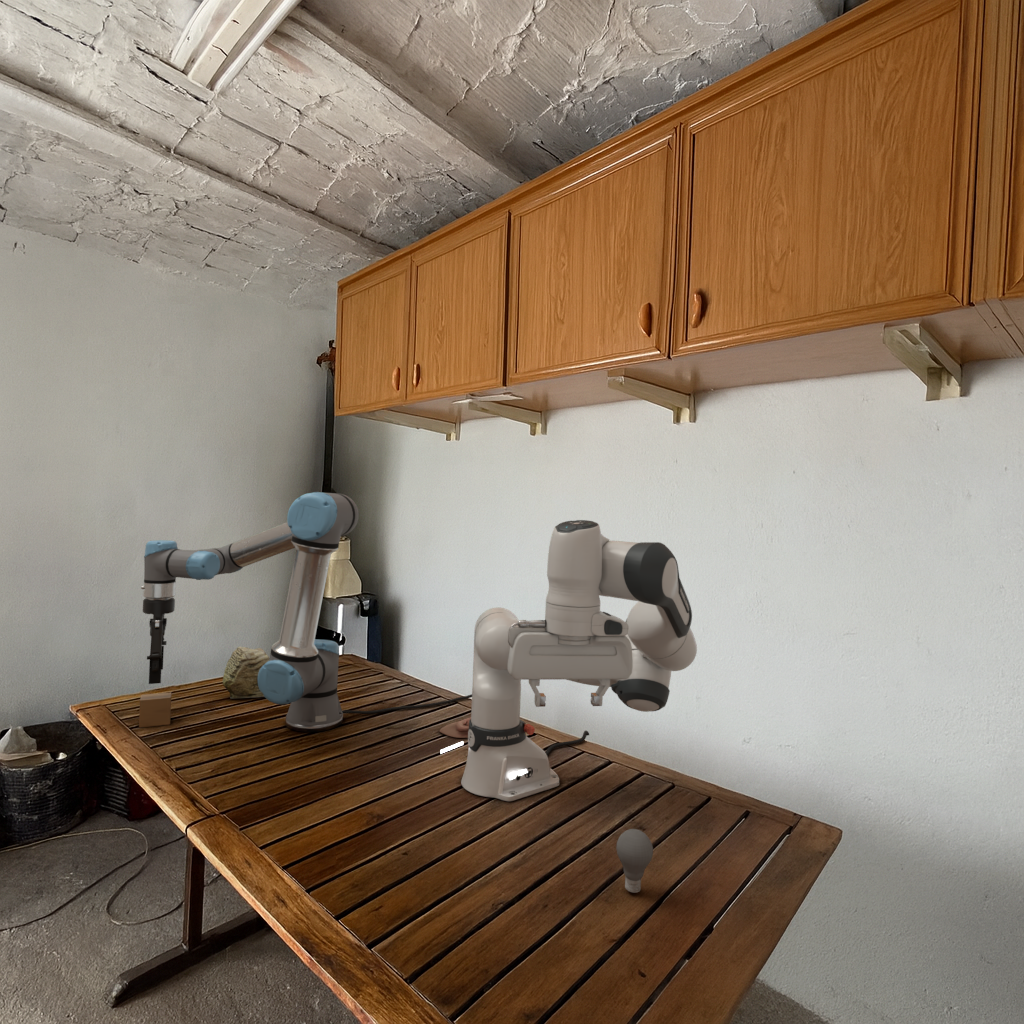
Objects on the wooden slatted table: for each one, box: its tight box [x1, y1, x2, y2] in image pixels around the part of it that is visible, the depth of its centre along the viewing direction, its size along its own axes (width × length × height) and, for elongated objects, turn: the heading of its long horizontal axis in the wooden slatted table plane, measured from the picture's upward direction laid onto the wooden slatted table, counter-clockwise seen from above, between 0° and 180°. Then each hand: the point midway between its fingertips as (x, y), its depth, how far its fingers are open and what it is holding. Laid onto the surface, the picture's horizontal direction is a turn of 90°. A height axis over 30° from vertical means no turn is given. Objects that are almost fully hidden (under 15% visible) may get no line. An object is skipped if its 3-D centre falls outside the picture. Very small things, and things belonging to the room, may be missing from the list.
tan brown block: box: [138, 691, 172, 728], centre depth 171 cm, size 5×7×7 cm
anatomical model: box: [439, 716, 471, 739], centre depth 175 cm, size 13×4×12 cm
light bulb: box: [615, 828, 654, 894], centre depth 106 cm, size 6×6×10 cm
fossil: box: [222, 646, 270, 699], centre depth 198 cm, size 9×18×15 cm, turn 132°
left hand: (156, 676), depth 171 cm, fingers open, 13 cm apart
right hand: (568, 705), depth 103 cm, fingers open, 8 cm apart
